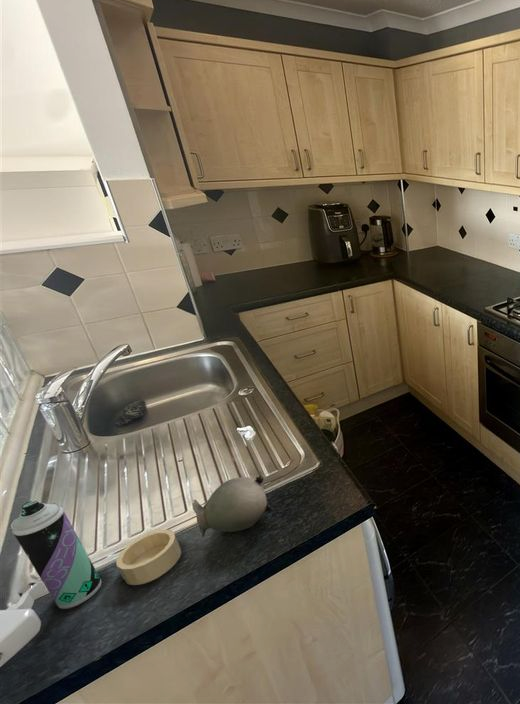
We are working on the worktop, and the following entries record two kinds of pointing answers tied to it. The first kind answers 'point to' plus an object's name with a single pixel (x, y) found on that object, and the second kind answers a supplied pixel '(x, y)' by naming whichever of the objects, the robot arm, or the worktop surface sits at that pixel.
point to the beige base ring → (148, 557)
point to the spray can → (56, 553)
